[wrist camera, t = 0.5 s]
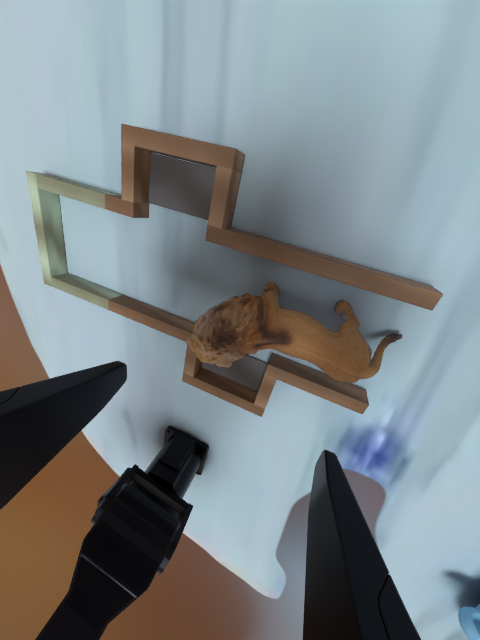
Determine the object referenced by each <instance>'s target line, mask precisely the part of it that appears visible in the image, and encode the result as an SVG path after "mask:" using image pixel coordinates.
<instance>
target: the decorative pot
mask: <svg viewBox="0 0 480 640" xmlns="http://www.w3.org/2000/svg"><path fill="white" fill-rule="evenodd" d="M458 616H459V622H460V625H461V627H462V629H463V631H464V633H465V634H466V635H467V637H468V638H469V640H480V604H479V605H478V606H477V607H476V608H473V607H462V608H461V609H460V611H459V615H458Z"/></svg>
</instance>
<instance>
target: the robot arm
mask: <svg viewBox="0 0 480 640" xmlns="http://www.w3.org/2000/svg"><path fill="white" fill-rule="evenodd" d="M126 379H127V366H126V364H125V363H122V362H120V361H115V362H111V363H108V364H104V365H100V366H96V367H92V368H89V369H85V370H81V371H77V372H73V373H70V374H66V375H62V376H58V377H54V378H51V379H47V380H43V381H39V382H35V383H32V384H28V385H24V386H21V387H17V388H13V389H9V390H5V391H1V392H0V509H2V508H3V507H4V506H5V505H6V504H7V503H8V502H9V501H10V500H11V499H12V498H13V497H14V496H15V495H16V494H17V493H18V492H19V491H20V490H21V489H22V488H23V487H24V486H25V485H26V484H27V483H28V482H29V481H30V480H31V479H32V478H33V477H34V476H35V475H36V474H37V473H38V472H39V471H40V470H41V469H42V468H44V467H45V466H46V465H47V463H48V462H50V460H52V459H53V458H54V456H56V455H57V454H58V453H59V451H61V450H62V449H63V448H64V447H65V446H66V445H67V444H68V443H69V442H70V441H71V440H72V439H73V438H74V437H75V436H76V435H77V434H78V433H79V432H80V431H81V430H82V429H83V428H84V427H85V426H86V425H87V424H88V423H89V422H90V421H91V420H92V419H93V418H94V417H95V416H96V415H97V414H98V413H99V412H100V411H101V410H102V409H103V408H104V407H105V406H106V404H107V403H108V402H109V401H110V400H111V399H112V397H113V396H114V395H115V394H116V393H117V391H118V390H119V389H120V388H121V387H122V385H123V384H124V383H125V381H126ZM208 449H209V447H208V446H207V445H206V444H204V443H202V442H200V441H198V440H196V439H194V438H192V437H190V436H188V435H186V434H184V433H182V432H180V431H178V430H176V429H174V428H172V427H170V426H168V427H167V428H166V431H165V439H164V446H163V447H162V449H161V450H160V452H159V453H158V454H157V456H156V457H155V459H154V460H153V461H152V463H151V464H150V465H149V467H148V468H147V470H146V471H145V472H144V471H143V470H141V469H140V468H138V467H139V466H137V465H136V464H135V465H134V466H133V467H132V468H127V469H126V470H125V472H124V473H123V474H122V475H121V477H120V478H119V479H118V480H117V481H116V482H115V483H114V484H113V485H112V486H111V487H110V488H109V489H108V490H107V491H106V492H105V493H104V494H103V495H102V496H101V497H100V499H99V500H98V506H97V510H96V512H95V515H94V516H93V518H92V520H91V523H92V524H94V526H93V527H92V529H91V530H90V531H89V532H88V534H87V535H86V537H85V538H84V540H83V543H82V546H81V550H80V553H79V557H78V561H77V564H76V567H75V571H74V574H73V578H72V581H71V585H70V589H69V591H68V593H67V595H66V596H65V598H64V599H63V601H62V602H61V603H60V605H59V606H58V608H57V609H56V611H55V612H54V614H53V615H52V616H51V618H50V619H49V621H48V622H47V624H46V625H45V627H44V628H43V630H42V631H41V632H40V634H39V635H38V637H37V638H36V639H35V640H99V639H100V637H101V635H102V634H103V632H104V630H105V628H106V627H107V625H108V623H110V622H111V621H112V620H113V619H114V618H115V617H116V616H118V615H119V614H120V613H121V612H122V611H123V610H124V609H125V608H127V607H128V606H129V605H130V604H131V603H132V602H134V601H135V600H136V599H137V598H138V597H139V596H140V595H142V594H143V593H144V592H145V591H146V590H147V589H148V587H149V586H150V584H151V582H152V580H153V578H154V576H155V574H156V573H158V574H159V575H160V574H161V573H162V572H163V571H164V569H165V567H166V566H167V564H168V562H169V560H170V558H171V557H172V555H173V552H174V551H175V549H176V546H177V544H178V542H179V540H180V537H181V535H182V532H183V530H184V527H185V525H186V523H187V520H188V518H189V515H190V513H191V510H192V508H193V505H191V504H190V503H189V504H188V503H187V502H185V501H184V500H183V497H184V495H185V493H186V491H187V489H188V487H189V485H190V483H191V481H192V480H193V478H194V476H195V474H198V475H201V474H202V472H203V468H204V464H205V460H206V457H207V453H208ZM388 574H389V571H388V569H387V567H386V565H385V562H384V560H383V558H382V556H381V553H380V551H379V549H378V547H377V545H376V542H375V540H374V538H373V536H372V534H371V531H370V529H369V527H368V525H367V522H366V520H365V518H364V516H363V514H362V511H361V509H360V507H359V505H358V503H357V500H356V498H355V496H354V494H353V492H352V489H351V487H350V485H349V483H348V480H347V478H346V476H345V474H344V472H343V469H342V467H341V465H340V463H339V460H338V458H337V456H336V455H335V454H334V453H332V452H330V451H328V450H324V451H323V452H322V454H321V455H320V457H319V459H318V461H317V463H316V466H315V471H314V478H313V484H312V491H311V498H310V504H309V512H308V531H307V555H306V578H305V602H304V624H303V640H421V638H420V636H419V634H418V632H417V630H416V628H415V626H414V625H413V623H412V621H411V618H410V616H409V614H408V612H407V610H406V608H405V606H404V604H403V602H402V599H401V597H400V595H399V593H398V591H397V589H396V586H395V584H394V582H393V580H392V578H391V576H390V575H388Z"/></svg>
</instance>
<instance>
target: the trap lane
mask: <svg viewBox="0 0 480 640" xmlns="http://www.w3.org/2000/svg"><path fill="white" fill-rule="evenodd" d="M151 152H154V153H158V154H162V155H166V156H170V157H174V158H179V159H183V160H187V161H191V162H195V163H199V164H204V165H208V166H212V167H216V169H215V168H210V167H206V166H202V165H198V164H194V163H190V162H186V161H182V160H177V159H173V158H169V157H165V156H161V155H157V154H153V153H151ZM121 154H122V196H121V195H118V194H114V193H111V192H107V191H104V190H100V189H97V188H94V187H90V186H87V185H83V184H80V183H76V182H73V181H70V180H66V179H63V178H59V177H56V176H52V175H49V174H44V173H37V172H30V171H26V175H27V181H28V187H29V193H30V199H31V205H32V211H33V217H34V223H35V229H36V235H37V241H38V247H39V254H40V260H41V266H42V272H43V278H44V283H45V284H47V285H49V286H52V287H54V288H57V289H59V290H62V291H64V292H66V293H69V294H71V295H74V296H76V297H79V298H81V299H83V300H86V301H88V302H91V303H93V304H96V305H98V306H100V307H103V308H105V309H108V310H110V311H112V312H115V313H117V314H120V315H122V316H125V317H127V318H129V319H132V320H134V321H137V322H139V323H142V324H144V325H146V326H149V327H151V328H154V329H156V330H159V331H161V332H163V333H166V334H168V335H171V336H173V337H176V338H178V339H180V340H183V341H185V342H186V340H187V338H188V337H189V336H191V335H192V333H193V330H194V325H195V323H194V322H191V321H189V320H186V319H184V318H181V317H179V316H176V315H173V314H171V313H168V312H166V311H163V310H161V309H158V308H156V307H153V306H150V305H148V304H145V303H143V302H140V301H138V300H135V299H133V298H130V297H127V296H125V295H122V294H120V293H117V292H115V291H112V290H109V289H107V288H104V287H102V286H99V285H97V284H94V283H92V282H89V281H86V280H84V279H81V278H79V277H76V276H74V275H71V274H69V273H68V271H67V263H66V254H65V245H64V237H63V228H62V219H61V210H60V202H59V195H62V196H65V197H68V198H71V199H74V200H78V201H81V202H84V203H87V204H90V205H94V206H97V207H100V208H103V209H107V210H110V211H113V212H116V213H119V214H123V215H126V216H129V217H132V218H148V216H149V203H151V204H155V205H158V206H162V207H165V208H169V209H172V210H175V211H179V212H182V213H186V214H189V215H193V216H196V217H200V218H203V219H206V220H208V226H207V232H206V239H205V240H206V241H210V242H213V243H216V244H219V245H223V246H226V247H229V248H232V249H235V250H239V251H242V252H245V253H248V254H252V255H255V256H258V257H261V258H264V259H268V260H271V261H274V262H277V263H281V264H284V265H287V266H290V267H293V268H297V269H300V270H303V271H306V272H310V273H313V274H316V275H319V276H322V277H326V278H329V279H332V280H335V281H338V282H342V283H345V284H348V285H351V286H355V287H358V288H361V289H364V290H367V291H371V292H374V293H377V294H380V295H384V296H387V297H390V298H393V299H396V300H400V301H403V302H406V303H409V304H413V305H416V306H419V307H422V308H425V309H429V310H433V309H434V307H435V306H436V304H437V303H438V301H439V300H440V298H441V297H442V295H443V294H442V293H441V292H439V291H438V290H437V289H435V288H434V287H432V286H429V285H426V284H422V283H419V282H416V281H412V280H409V279H405V278H402V277H398V276H395V275H392V274H388V273H385V272H381V271H378V270H374V269H371V268H368V267H364V266H361V265H357V264H354V263H350V262H347V261H344V260H340V259H337V258H333V257H330V256H327V255H323V254H320V253H316V252H313V251H309V250H306V249H303V248H299V247H296V246H292V245H289V244H285V243H282V242H279V241H275V240H272V239H268V238H265V237H261V236H258V235H255V234H251V233H248V232H244V231H241V230H237V229H234V228H231V224H232V219H233V214H234V209H235V204H236V199H237V193H238V188H239V183H240V178H241V173H242V168H243V163H244V158H245V155H244V154H242V153H241V152H240V151H238V150H237V149H234V148H230V147H225V146H221V145H216V144H212V143H207V142H202V141H198V140H193V139H189V138H184V137H180V136H175V135H171V134H166V133H161V132H157V131H152V130H148V129H143V128H139V127H134V126H130V125H125V124H121ZM202 363H203V364H202ZM267 364H268V366H267ZM266 367H267V368H266ZM265 370H266V371H265ZM264 373H265V374H264ZM263 376H264V377H263ZM262 379H263V380H262ZM276 379H278V380H280V381H282V382H285V383H287V384H290V385H292V386H295V387H297V388H299V389H302V390H304V391H307V392H309V393H312V394H314V395H316V396H319V397H321V398H324V399H326V400H329V401H331V402H333V403H336V404H338V405H341V406H343V407H346V408H348V409H350V410H353V411H355V412H358V413H360V414H363V413H364V411H365V410H366V408H367V407H368V405H369V403H368V398H367V393H366V390H365V389H363V388H360V387H358V386H355V385H353V384H350V383H347V382H341V381H337V380H335V379H333V378H331V377H330V376H329V375H327V374H324V373H322V372H319V371H317V370H314V369H312V368H309V367H306V366H304V365H301V364H299V363H296V362H294V361H291V360H289V359H286V358H283V357H281V356H278V355H276V354H273V353H272V356H271V358H270V361H269V363H266V362H264V361H261V360H259V359H256V358H254V357H251V356H249V355H245V356H244V357H243V358H239V359H238V360H235V361H233V362H232V365H231V366H230V367H219V366H217V365H216V364H215V363H214V364H208V363H204V362H201V361H200V360H199V358H198V357H197V356H196V354H195V353H194V352H193V351H192V350H191V346H189V345H188V344H187V351H186V358H185V365H184V371H183V378H182V381H183V382H185V383H188V384H190V385H192V386H194V387H197V388H199V389H201V390H203V391H205V392H208V393H210V394H212V395H214V396H217V397H219V398H221V399H223V400H225V401H228V402H230V403H232V404H234V405H236V406H239V407H241V408H243V409H245V410H248V411H250V412H252V413H254V414H256V415H259V416H261V417H262V415H263V413H264V410H265V408H266V405H267V402H268V400H269V397H270V395H271V392H272V390H273V387H274V384H275V382H276ZM261 381H262V382H261ZM260 384H261V385H260ZM259 387H260V388H259ZM258 390H259V391H258Z"/></svg>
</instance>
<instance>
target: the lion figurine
mask: <svg viewBox="0 0 480 640" xmlns="http://www.w3.org/2000/svg"><path fill="white" fill-rule="evenodd" d="M264 289H265V291H264V294H263V295H262V296H261V297H258V296H253V295H251V294H248V293H247V294H244V295H242V296H241V297H237V296H235V297H233V298H231V299H229V300H227V301H223V302H222V303H220V305H216V306H214V307H213V308H210V309H209V310H208V311H207V313H205V314H204V315H201V316H200V317H199V319H198V320H196V322H195V325H194V330H193V333H192V335H191V336H189V337H188V338H187V340H186V344H188V345H189V346H191V350H192V351H193V352H194V353H195V354H196V356H197V357H198V358H199V360H200V361H201V362H204V363H208V364H214V363H215V364H216V365H217V366H219V367H230V366H231V365H232V362H233V361H235V360H238V359H239V358H243V357H244V356H245V355H247V354H255V353H256V352H257V351H258V350H263V349H274V350H277V351H279V352H282V353H284V354H287V355H289V356H292V357H295V358H300V359H303V360H306V361H308V362H310V363H313V364H314V365H316V366H318V367H319V368H320V369H321V370H323V371H324V372H325V373H326V374H327V375H329V376H330V377H331V378H333V379H335V380H337V381H341V382H349V383H354V382H356V381H358V380H359V379H365V378H370V377H372V376H374V375H375V374H376V373H377V372H378V371H379V369H380V365H381V361H382V356H383V352H384V350H385V348H386V347H387V346H388V345H389V344H390V343H392V342H395V341H396V340H399V339H401V338H402V336H403V335H402V334H394V333H393V334H390V335H388V336H386V337H385V338H384V339H382V341H381V342H380V344H379V345H378V347H377V349H376V351H375V353H374V356H373V358H372V360H371V354H372V350H371V348H370V347H369V346H368V345H367V344H366V342H365V340H364V338H363V337H362V335H361V334H360V333H359V331H358V328H359V326H360V323H359V321H358V320H357V318H356V317H355V315H354V313H353V310H352V308H351V306H350V305H349V304H348V303H347V302H346V301H339V302H337V304H336V306H335V312H336V313H337V314H339V315H341V316H343V317H344V318H345V319H346V320H347V321H346V322H344V323H343V324H342V325H341V326H340V329H339V330H338V331H337V332H333V331H331V330H329V329H327V328H326V327H324V326H323V325H322V324H320V323H319V322H318V321H316V320H315V319H313V318H312V317H310V316H308V315H306V314H303V313H301V312H298V311H294V310H289V309H284V308H280V305H279V303H278V298H279V289H278V287H277V286H276V285H275V284H274V283H269V284H267V285H266V287H265V288H264ZM370 361H371V362H370Z"/></svg>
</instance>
